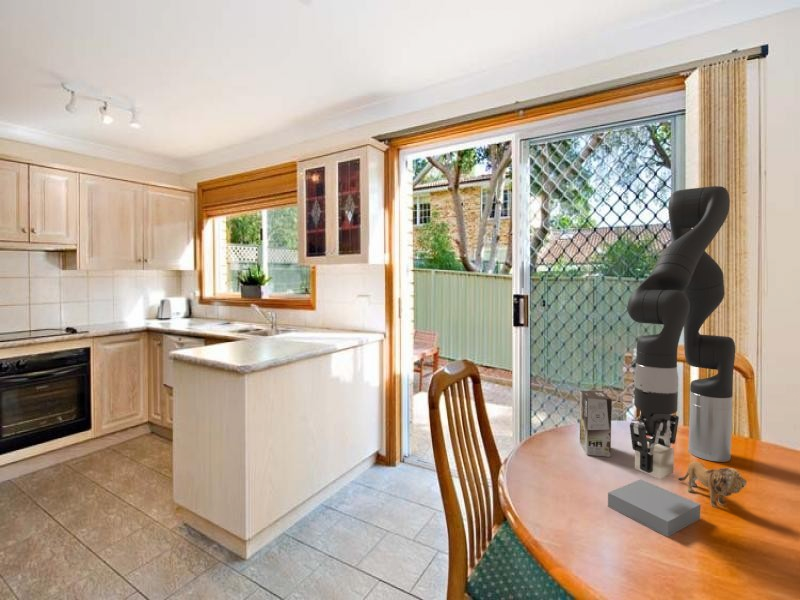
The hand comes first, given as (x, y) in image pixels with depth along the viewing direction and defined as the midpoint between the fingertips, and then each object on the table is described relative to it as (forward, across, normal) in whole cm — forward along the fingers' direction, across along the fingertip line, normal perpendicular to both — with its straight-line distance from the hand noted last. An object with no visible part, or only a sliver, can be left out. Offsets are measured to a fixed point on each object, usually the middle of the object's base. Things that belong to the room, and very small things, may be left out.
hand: (653, 467), depth 83 cm
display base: (+10, 0, 0) cm, 10 cm away
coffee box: (+10, -18, -26) cm, 33 cm away
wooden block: (+1, 0, 0) cm, 1 cm away
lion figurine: (+10, -17, +3) cm, 20 cm away
